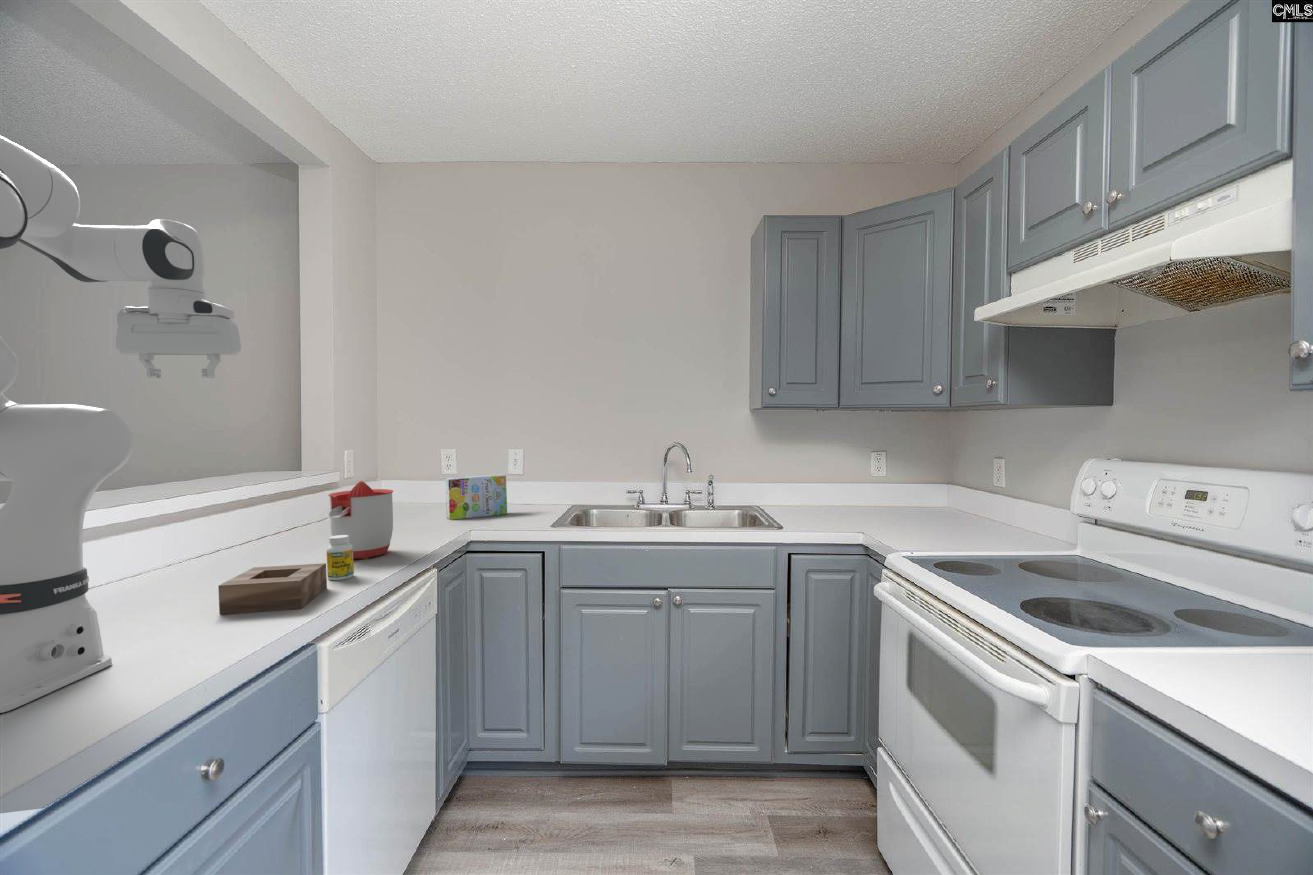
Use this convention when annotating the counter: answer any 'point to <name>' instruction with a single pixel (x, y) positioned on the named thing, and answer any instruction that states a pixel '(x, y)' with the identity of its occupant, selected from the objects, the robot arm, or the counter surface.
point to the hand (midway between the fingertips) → (181, 377)
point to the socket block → (272, 588)
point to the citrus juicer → (363, 519)
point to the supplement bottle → (340, 558)
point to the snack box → (476, 496)
